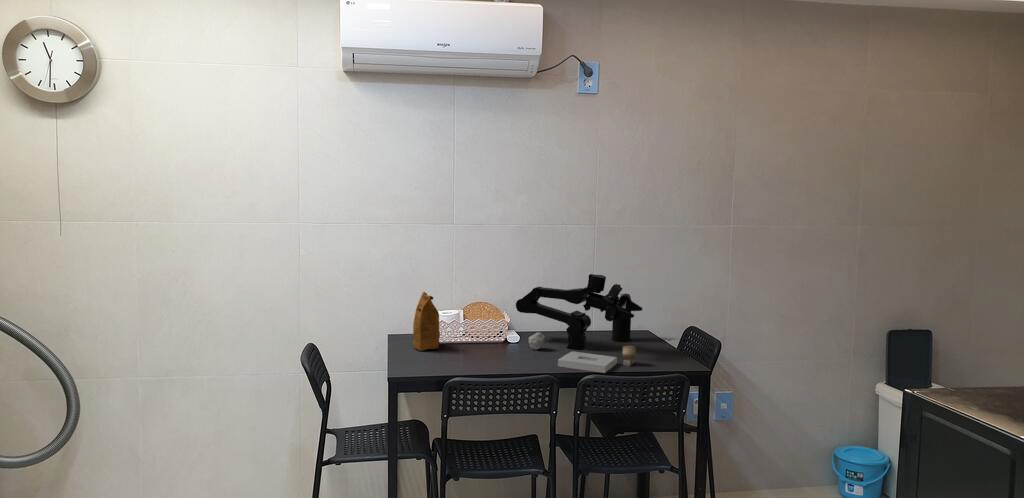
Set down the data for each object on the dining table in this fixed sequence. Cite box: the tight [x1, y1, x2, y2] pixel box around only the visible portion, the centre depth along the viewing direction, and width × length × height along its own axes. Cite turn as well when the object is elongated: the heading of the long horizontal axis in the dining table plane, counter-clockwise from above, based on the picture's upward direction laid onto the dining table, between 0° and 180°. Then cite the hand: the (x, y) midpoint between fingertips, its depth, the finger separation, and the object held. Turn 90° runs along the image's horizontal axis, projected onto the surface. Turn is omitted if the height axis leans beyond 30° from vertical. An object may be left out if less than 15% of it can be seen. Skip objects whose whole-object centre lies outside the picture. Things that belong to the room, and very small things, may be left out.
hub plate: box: [557, 350, 618, 374], centre depth 265 cm, size 18×14×2 cm
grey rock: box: [527, 332, 546, 351], centre depth 287 cm, size 6×7×7 cm
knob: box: [621, 345, 637, 367], centre depth 267 cm, size 6×5×6 cm
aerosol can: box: [611, 293, 632, 343], centre depth 305 cm, size 8×8×20 cm
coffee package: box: [412, 291, 441, 352], centre depth 286 cm, size 10×12×22 cm
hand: (638, 312), depth 277 cm, fingers open, 9 cm apart
